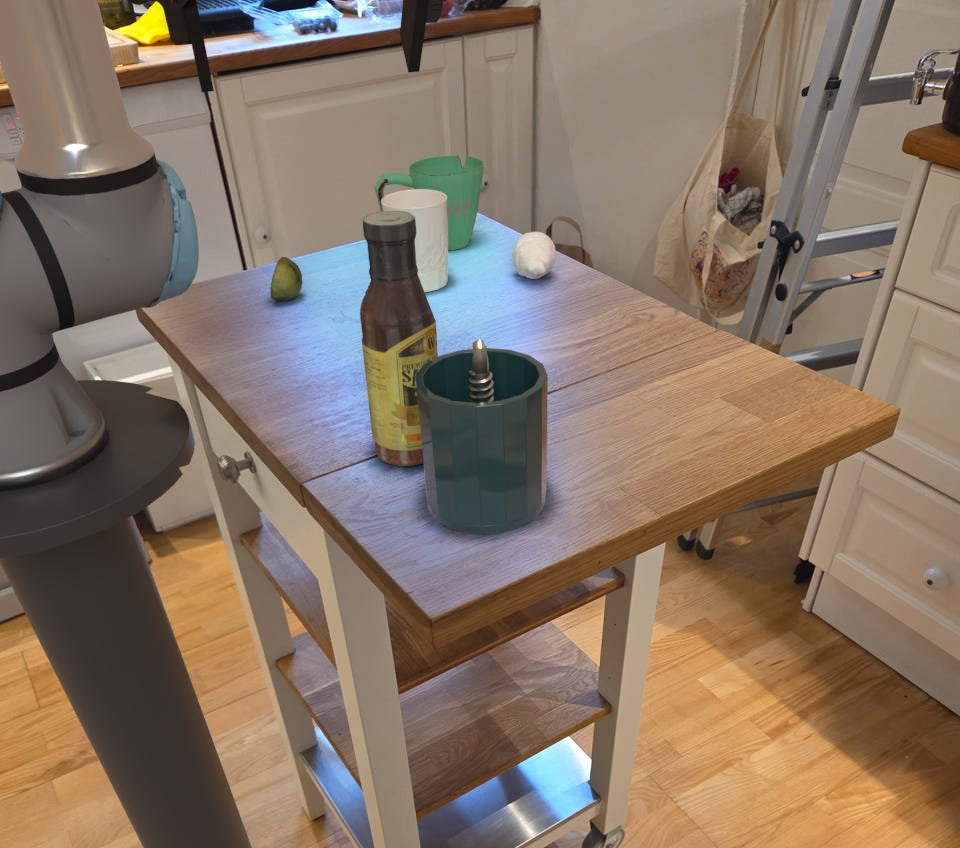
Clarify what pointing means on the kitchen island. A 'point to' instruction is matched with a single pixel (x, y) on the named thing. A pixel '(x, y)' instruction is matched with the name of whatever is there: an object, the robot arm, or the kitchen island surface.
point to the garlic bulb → (534, 255)
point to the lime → (286, 280)
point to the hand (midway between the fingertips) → (308, 62)
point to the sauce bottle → (395, 336)
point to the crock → (484, 442)
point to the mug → (445, 190)
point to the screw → (480, 375)
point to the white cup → (426, 232)
